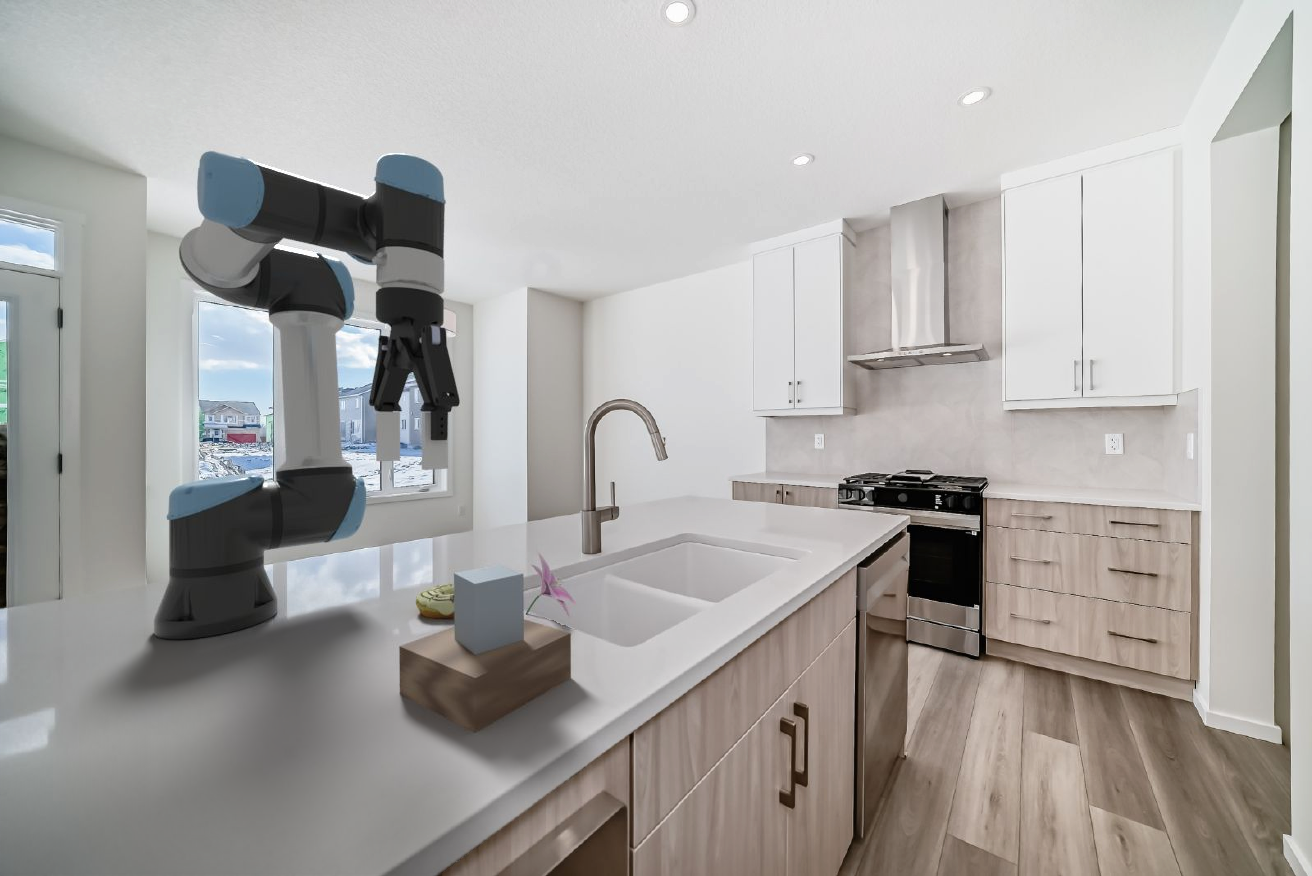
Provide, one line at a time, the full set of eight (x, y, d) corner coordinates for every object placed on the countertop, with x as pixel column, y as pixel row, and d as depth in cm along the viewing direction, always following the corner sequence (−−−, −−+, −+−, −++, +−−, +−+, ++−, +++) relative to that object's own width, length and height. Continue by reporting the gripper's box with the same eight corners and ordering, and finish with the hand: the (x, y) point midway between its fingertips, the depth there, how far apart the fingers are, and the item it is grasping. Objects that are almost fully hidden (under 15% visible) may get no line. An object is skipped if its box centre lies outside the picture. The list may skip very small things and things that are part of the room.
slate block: (454, 639, 62) (454, 573, 62) (501, 626, 66) (500, 564, 66) (475, 654, 58) (474, 583, 58) (523, 639, 62) (523, 573, 62)
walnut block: (399, 697, 60) (399, 646, 60) (497, 653, 72) (496, 611, 72) (475, 736, 52) (475, 678, 52) (570, 680, 64) (570, 633, 64)
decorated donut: (450, 626, 81) (449, 602, 81) (402, 616, 86) (401, 593, 86) (495, 605, 91) (495, 584, 91) (450, 597, 95) (450, 577, 95)
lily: (543, 639, 78) (574, 582, 80) (487, 600, 83) (518, 546, 84) (575, 635, 89) (602, 584, 91) (525, 600, 94) (551, 552, 95)
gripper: (342, 300, 68) (342, 459, 69) (425, 266, 52) (424, 475, 53) (400, 310, 74) (400, 456, 75) (492, 282, 57) (490, 471, 58)
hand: (409, 464), depth 64 cm, fingers open, 13 cm apart
